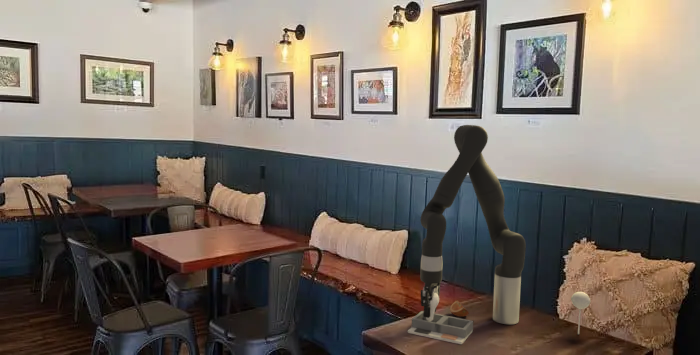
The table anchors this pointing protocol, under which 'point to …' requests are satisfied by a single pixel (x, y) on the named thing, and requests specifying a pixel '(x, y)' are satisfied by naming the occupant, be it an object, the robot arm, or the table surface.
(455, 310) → the fruit slice
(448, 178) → the robot arm
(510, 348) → the table surface
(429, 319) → the lightbulb
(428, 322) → the socket board
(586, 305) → the lollipop
